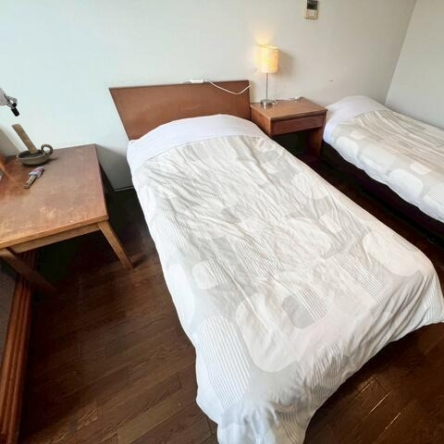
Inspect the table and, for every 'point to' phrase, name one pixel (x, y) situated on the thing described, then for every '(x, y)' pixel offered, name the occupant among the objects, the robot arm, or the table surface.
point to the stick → (24, 138)
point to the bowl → (35, 156)
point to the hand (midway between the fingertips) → (6, 115)
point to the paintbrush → (33, 176)
